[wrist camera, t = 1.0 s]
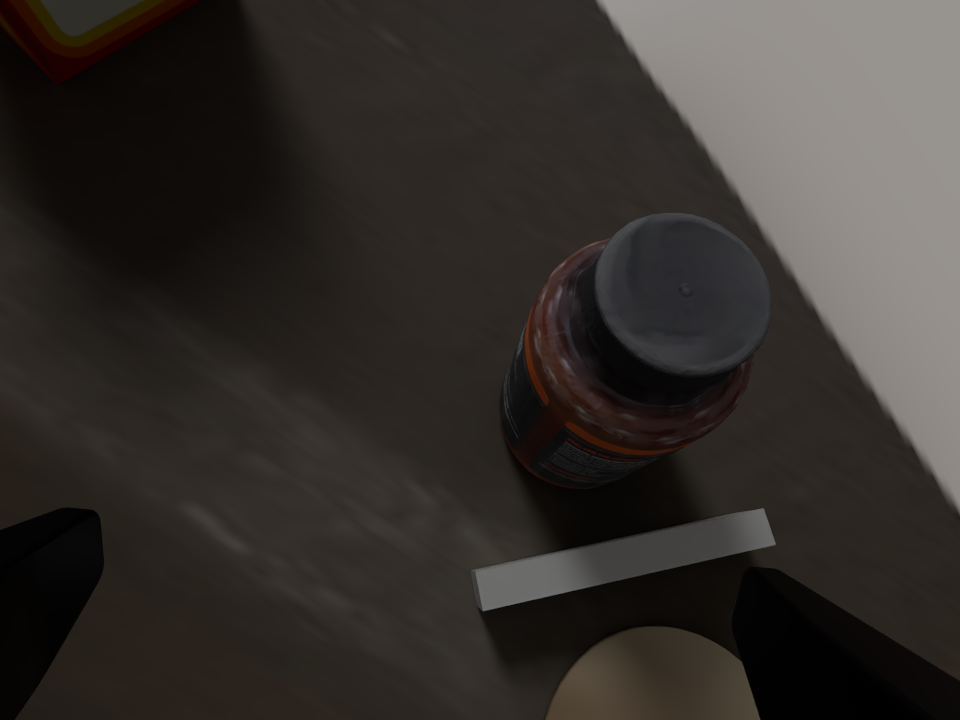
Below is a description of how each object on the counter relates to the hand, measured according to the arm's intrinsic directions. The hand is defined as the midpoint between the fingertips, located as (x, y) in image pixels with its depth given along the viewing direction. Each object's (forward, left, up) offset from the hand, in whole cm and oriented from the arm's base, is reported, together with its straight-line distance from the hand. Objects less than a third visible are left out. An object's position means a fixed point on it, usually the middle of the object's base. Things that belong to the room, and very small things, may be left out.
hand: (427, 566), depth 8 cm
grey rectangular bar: (+2, -6, -14) cm, 15 cm away
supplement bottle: (+7, -4, -14) cm, 16 cm away
